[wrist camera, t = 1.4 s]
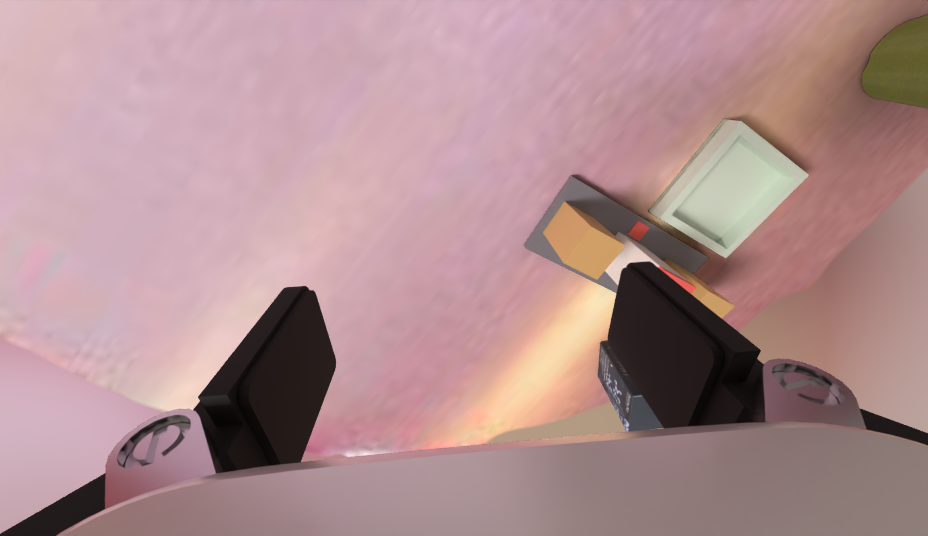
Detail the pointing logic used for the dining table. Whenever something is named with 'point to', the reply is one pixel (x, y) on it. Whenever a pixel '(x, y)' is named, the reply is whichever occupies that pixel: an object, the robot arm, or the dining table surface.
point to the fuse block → (610, 240)
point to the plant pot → (900, 65)
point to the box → (624, 393)
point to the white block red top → (641, 254)
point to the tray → (728, 188)
